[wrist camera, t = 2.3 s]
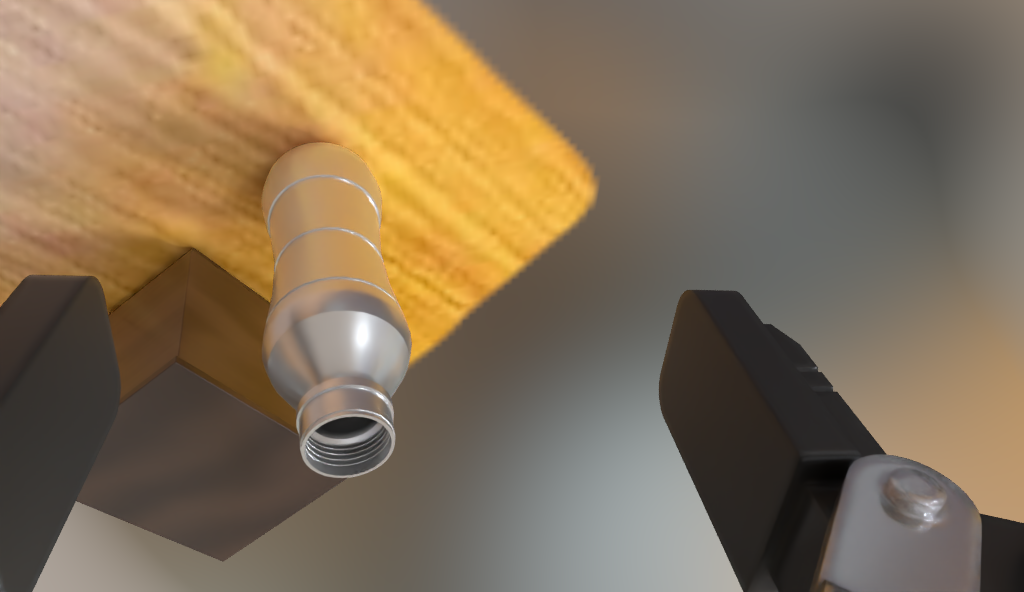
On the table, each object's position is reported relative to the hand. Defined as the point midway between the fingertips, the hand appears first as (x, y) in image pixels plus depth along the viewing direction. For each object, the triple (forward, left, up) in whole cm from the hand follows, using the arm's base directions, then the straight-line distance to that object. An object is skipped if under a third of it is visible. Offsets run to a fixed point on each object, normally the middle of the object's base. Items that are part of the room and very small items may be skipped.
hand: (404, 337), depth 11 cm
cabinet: (+16, -23, -31) cm, 42 cm away
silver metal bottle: (+12, -10, -32) cm, 35 cm away
